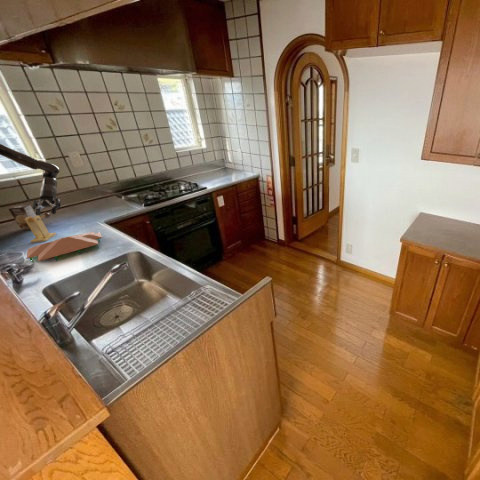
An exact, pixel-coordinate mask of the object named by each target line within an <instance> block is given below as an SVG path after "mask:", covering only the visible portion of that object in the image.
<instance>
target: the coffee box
mask: <svg viewBox="0 0 480 480" xmlns="http://www.w3.org/2000/svg"><path fill="white" fill-rule="evenodd" d="M32 207H33V206H32V205H31V204H17V205H13V206H11V207H9V208H8V211H9V212H10V214H11V216H12V217H13V219H14V220H15V222H16V224H17V225H18V227H19V228H20V230H21V231H27V230H29V231H30V230H31V229H30V227H29V226H28V224H27V222H26V221H25V218H27V217H29V216H32V218H33V217H35V216H37V215H36V214H35V213H36V211H34V209H33V208H32Z"/></svg>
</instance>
